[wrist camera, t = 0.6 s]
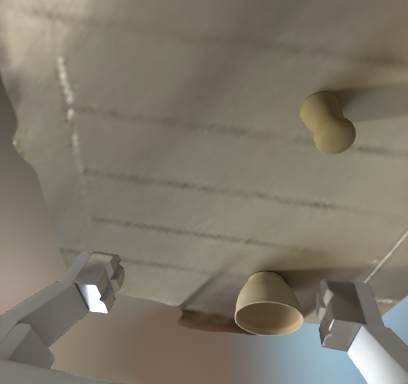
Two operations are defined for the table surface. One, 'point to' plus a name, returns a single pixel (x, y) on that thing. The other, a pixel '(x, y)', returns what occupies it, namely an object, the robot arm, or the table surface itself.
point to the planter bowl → (268, 306)
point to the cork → (327, 123)
